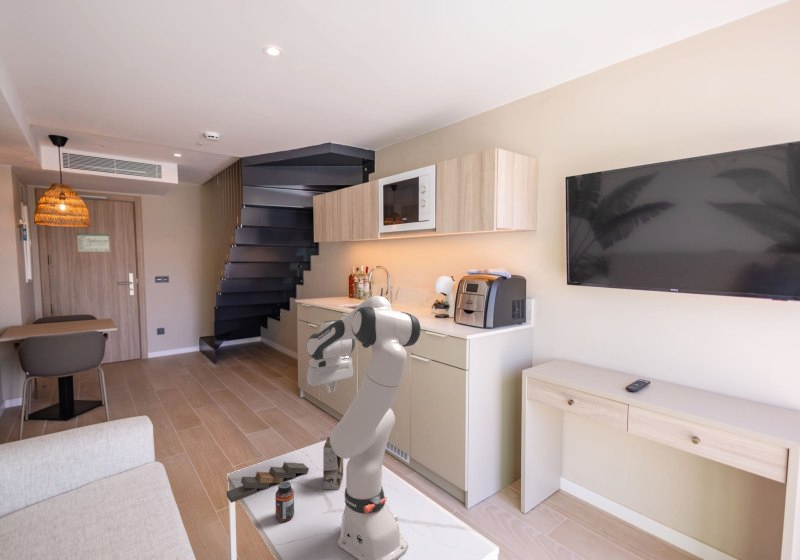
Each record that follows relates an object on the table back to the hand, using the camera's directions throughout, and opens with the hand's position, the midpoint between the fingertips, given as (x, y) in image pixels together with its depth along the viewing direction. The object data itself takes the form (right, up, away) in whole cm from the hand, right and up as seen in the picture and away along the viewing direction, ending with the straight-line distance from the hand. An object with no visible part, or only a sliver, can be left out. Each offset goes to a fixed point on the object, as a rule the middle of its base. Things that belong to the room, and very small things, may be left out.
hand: (331, 391), depth 163 cm
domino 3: (-18, -31, -10) cm, 37 cm away
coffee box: (+3, -32, -11) cm, 34 cm away
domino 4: (-14, -31, -6) cm, 34 cm away
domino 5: (-10, -30, -3) cm, 32 cm away
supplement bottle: (-10, -33, -31) cm, 47 cm away
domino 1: (-26, -31, -16) cm, 44 cm away
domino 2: (-22, -31, -13) cm, 40 cm away
